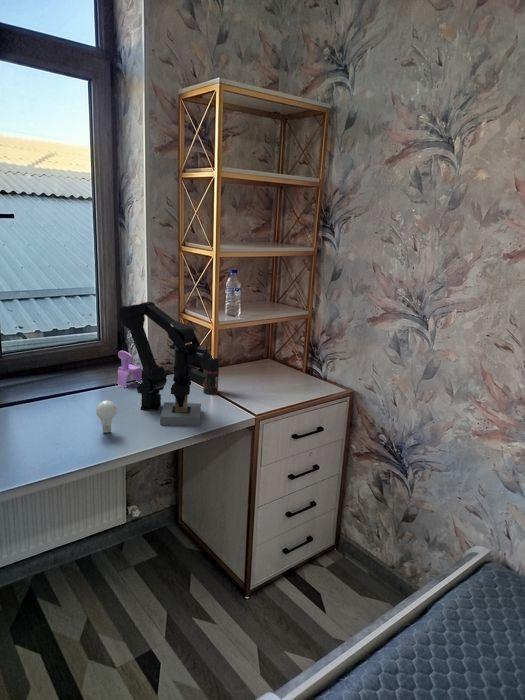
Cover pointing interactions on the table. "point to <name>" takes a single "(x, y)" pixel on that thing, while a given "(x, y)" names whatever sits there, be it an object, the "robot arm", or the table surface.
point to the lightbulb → (106, 414)
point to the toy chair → (127, 369)
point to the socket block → (180, 415)
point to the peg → (181, 409)
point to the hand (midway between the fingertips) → (181, 404)
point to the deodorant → (212, 377)
